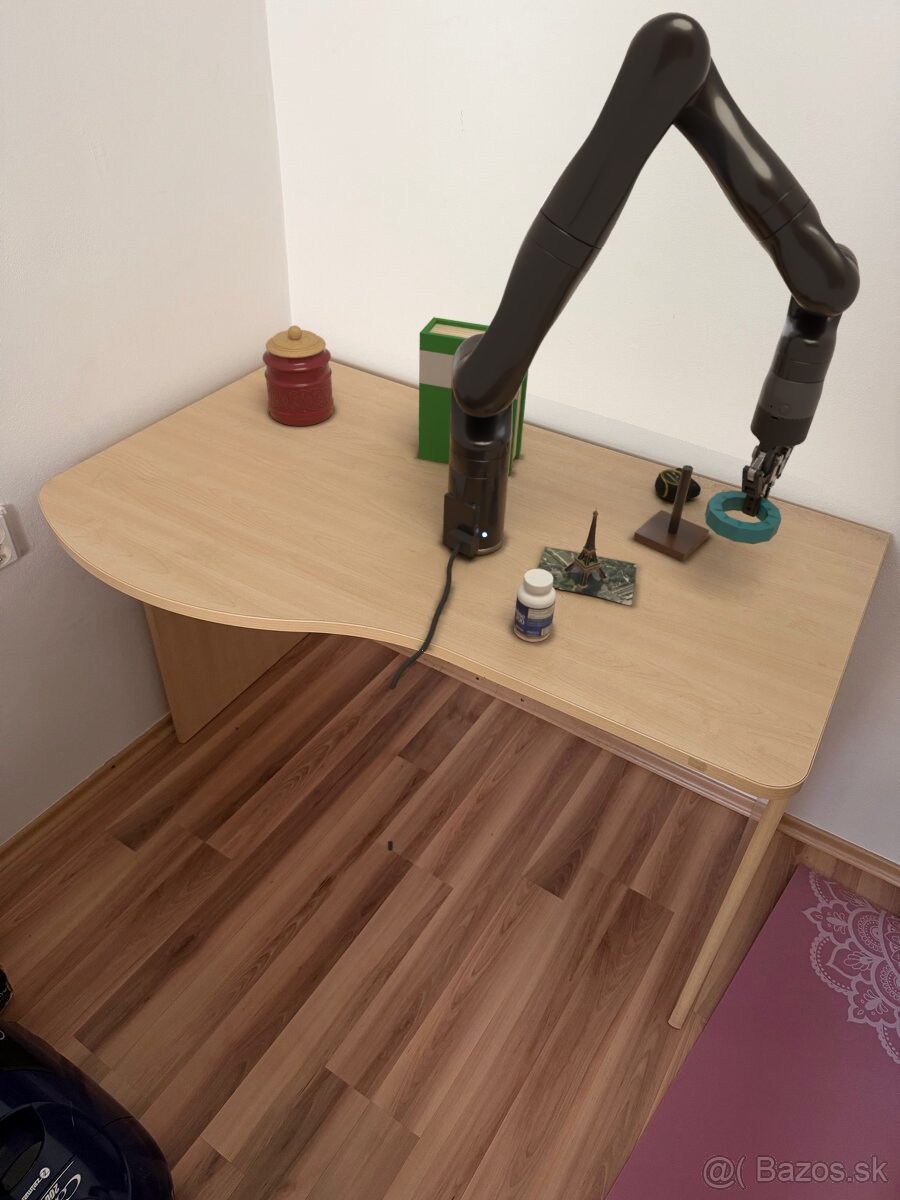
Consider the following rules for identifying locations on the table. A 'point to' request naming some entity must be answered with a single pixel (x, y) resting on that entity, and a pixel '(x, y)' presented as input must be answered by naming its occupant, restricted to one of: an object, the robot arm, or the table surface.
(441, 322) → the hardback book
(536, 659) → the table surface
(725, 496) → the ring
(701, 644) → the table surface
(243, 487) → the table surface
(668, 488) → the tape measure
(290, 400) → the kitchen canister
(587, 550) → the eiffel tower figurine
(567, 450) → the table surface
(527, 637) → the pill bottle
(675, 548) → the stand
